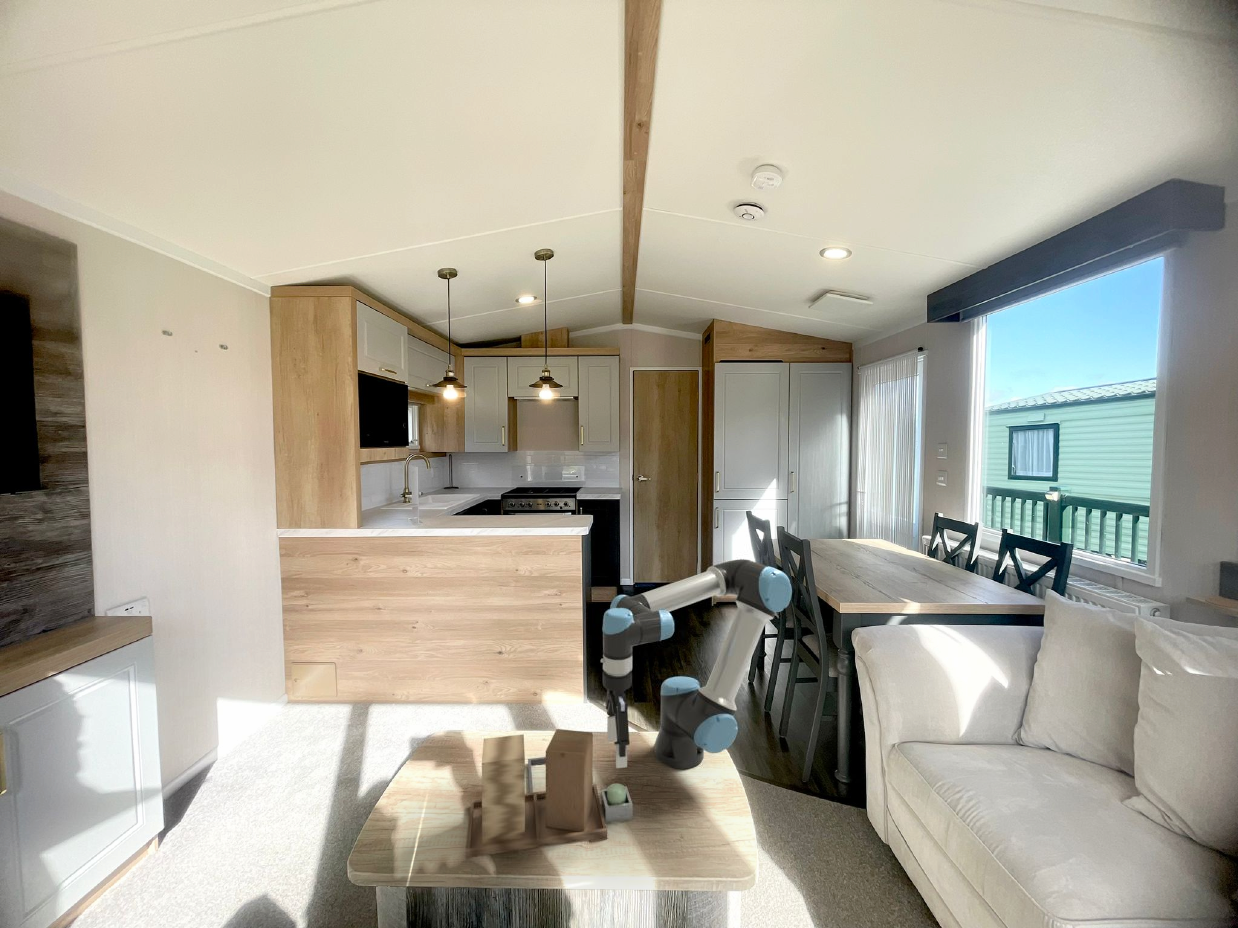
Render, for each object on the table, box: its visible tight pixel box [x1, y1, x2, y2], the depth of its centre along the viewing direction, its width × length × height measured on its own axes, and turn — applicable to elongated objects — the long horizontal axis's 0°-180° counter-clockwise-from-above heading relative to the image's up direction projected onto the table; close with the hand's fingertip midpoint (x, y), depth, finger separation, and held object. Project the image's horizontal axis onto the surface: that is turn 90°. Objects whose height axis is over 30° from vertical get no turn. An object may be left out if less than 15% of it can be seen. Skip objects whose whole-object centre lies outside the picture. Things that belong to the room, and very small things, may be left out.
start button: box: [606, 782, 626, 806], centre depth 136 cm, size 5×5×4 cm
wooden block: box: [545, 728, 594, 832], centre depth 133 cm, size 10×10×20 cm
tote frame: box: [527, 756, 546, 793], centre depth 149 cm, size 16×16×2 cm
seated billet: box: [481, 734, 526, 844], centre depth 130 cm, size 10×10×20 cm
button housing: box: [600, 786, 634, 824], centre depth 136 cm, size 7×7×4 cm
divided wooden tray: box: [465, 783, 608, 859], centre depth 132 cm, size 33×17×2 cm, turn 102°
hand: (616, 752), depth 135 cm, fingers open, 11 cm apart
